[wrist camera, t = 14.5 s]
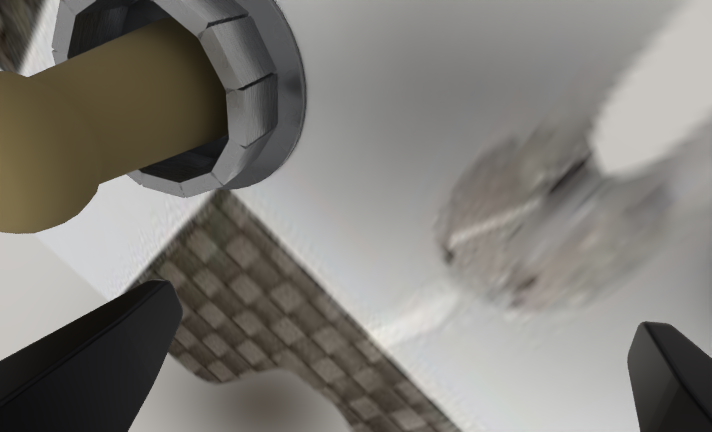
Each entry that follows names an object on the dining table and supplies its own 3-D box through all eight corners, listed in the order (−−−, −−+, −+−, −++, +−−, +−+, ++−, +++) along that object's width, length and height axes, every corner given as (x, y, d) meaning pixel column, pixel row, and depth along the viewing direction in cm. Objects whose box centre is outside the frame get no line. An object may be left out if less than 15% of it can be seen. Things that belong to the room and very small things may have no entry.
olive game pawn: (123, 86, 23) (-129, 174, 14) (161, -15, 20) (-143, 19, 11) (214, 162, 24) (26, 292, 15) (265, 79, 20) (60, 183, 11)
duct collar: (310, -47, 17) (268, -45, 15) (302, 208, 24) (272, 243, 21) (67, -78, 20) (-8, -82, 17) (120, 159, 27) (72, 184, 24)
